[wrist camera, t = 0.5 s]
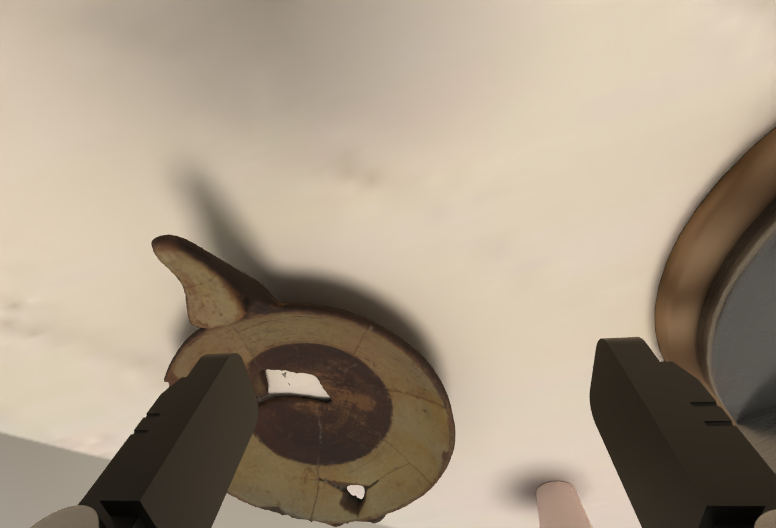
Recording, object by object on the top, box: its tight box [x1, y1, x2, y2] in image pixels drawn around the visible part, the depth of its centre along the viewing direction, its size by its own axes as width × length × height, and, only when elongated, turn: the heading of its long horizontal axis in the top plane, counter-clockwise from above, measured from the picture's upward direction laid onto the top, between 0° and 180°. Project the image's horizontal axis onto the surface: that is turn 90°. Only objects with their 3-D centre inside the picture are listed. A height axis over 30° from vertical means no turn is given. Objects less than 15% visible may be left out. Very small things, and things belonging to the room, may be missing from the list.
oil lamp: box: [152, 235, 455, 527], centre depth 31 cm, size 22×30×8 cm
